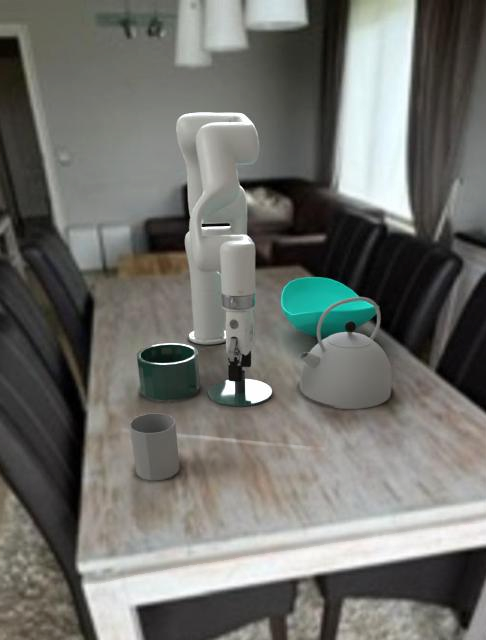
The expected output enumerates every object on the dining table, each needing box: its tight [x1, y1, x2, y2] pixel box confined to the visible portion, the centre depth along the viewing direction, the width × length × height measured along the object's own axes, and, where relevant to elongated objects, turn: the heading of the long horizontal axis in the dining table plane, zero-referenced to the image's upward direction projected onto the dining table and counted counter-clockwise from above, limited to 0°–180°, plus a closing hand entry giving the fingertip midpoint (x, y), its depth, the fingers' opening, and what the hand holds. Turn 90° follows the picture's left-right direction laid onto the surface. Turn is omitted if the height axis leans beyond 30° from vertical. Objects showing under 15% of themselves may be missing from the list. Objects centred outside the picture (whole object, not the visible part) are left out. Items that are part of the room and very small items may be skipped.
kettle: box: [299, 296, 393, 410], centre depth 135 cm, size 25×23×22 cm
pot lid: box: [207, 369, 273, 408], centre depth 137 cm, size 16×16×6 cm
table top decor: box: [280, 276, 380, 340], centre depth 173 cm, size 40×28×13 cm
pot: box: [136, 342, 201, 401], centre depth 140 cm, size 15×15×10 cm
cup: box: [129, 412, 180, 481], centre depth 107 cm, size 8×8×10 cm
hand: (240, 373), depth 135 cm, fingers open, 9 cm apart
